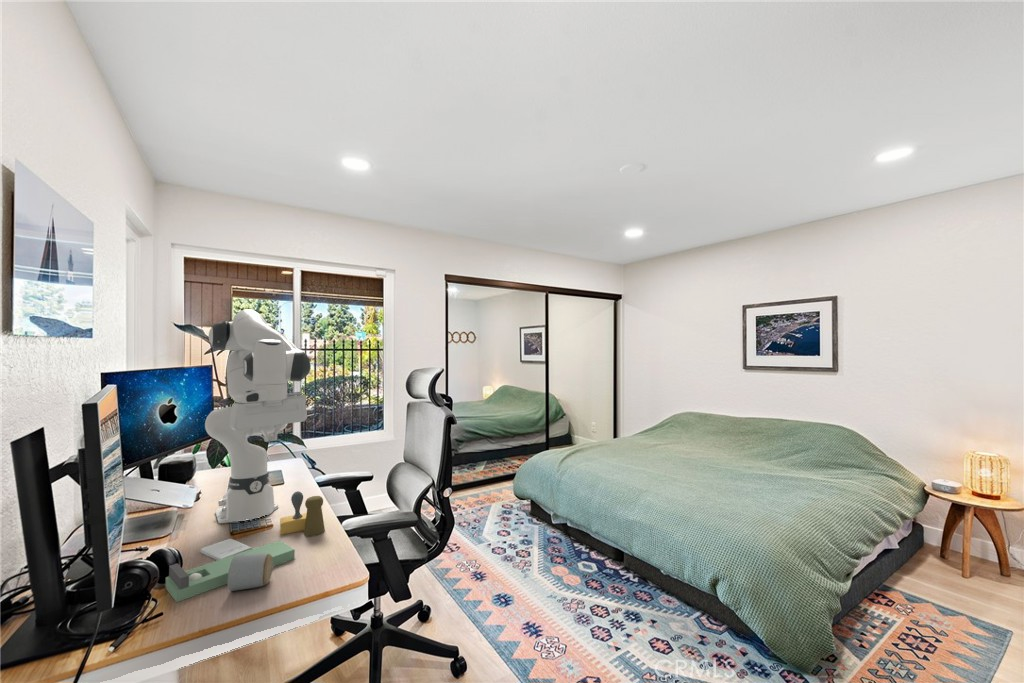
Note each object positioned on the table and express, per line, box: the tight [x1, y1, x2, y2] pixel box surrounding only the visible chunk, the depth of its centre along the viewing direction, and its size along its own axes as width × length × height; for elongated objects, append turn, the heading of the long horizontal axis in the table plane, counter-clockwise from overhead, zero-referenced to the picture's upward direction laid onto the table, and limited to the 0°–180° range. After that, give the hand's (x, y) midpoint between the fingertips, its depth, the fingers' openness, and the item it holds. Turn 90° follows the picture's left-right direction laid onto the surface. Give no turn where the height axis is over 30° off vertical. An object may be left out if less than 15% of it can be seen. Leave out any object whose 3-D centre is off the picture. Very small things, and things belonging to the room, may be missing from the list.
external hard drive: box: [199, 538, 253, 561], centre depth 122 cm, size 2×8×12 cm
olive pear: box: [303, 495, 326, 537], centre depth 135 cm, size 6×6×11 cm
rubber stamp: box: [279, 491, 307, 536], centre depth 138 cm, size 10×6×12 cm, turn 119°
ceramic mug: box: [227, 553, 274, 592], centre depth 104 cm, size 11×8×8 cm
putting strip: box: [165, 539, 296, 603], centre depth 110 cm, size 10×26×5 cm, turn 140°
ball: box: [189, 573, 202, 582], centre depth 103 cm, size 3×3×3 cm
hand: (270, 441), depth 125 cm, fingers closed
